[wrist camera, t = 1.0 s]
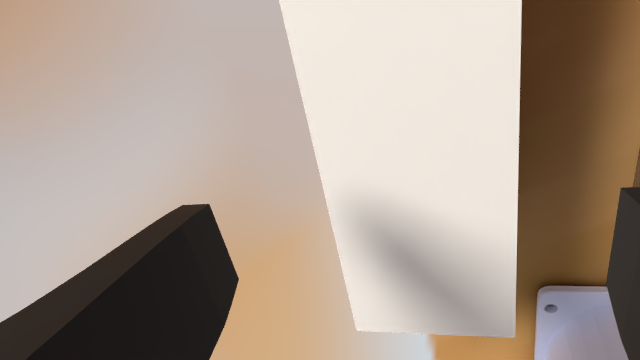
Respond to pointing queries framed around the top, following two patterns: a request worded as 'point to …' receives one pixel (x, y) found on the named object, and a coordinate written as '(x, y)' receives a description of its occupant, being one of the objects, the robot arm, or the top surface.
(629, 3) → the top surface
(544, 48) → the top surface
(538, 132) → the top surface
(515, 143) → the board
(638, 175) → the plate
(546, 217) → the top surface
